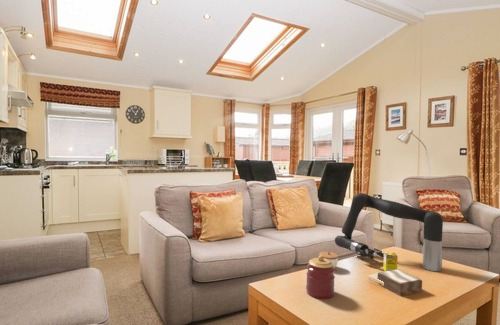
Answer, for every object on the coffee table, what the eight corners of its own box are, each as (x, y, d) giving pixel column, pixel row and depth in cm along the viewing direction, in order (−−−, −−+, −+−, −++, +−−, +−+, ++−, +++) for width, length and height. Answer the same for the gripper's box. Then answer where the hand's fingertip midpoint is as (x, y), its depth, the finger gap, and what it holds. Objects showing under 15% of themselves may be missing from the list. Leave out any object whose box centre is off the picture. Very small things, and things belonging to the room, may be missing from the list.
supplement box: (397, 275, 164) (397, 255, 163) (385, 274, 165) (386, 254, 165) (394, 271, 169) (394, 252, 169) (382, 270, 171) (383, 251, 170)
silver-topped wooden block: (397, 280, 157) (398, 268, 157) (421, 291, 144) (422, 279, 144) (377, 283, 152) (377, 272, 152) (400, 296, 139) (400, 283, 139)
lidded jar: (323, 263, 180) (323, 247, 180) (340, 267, 174) (341, 251, 173) (315, 268, 171) (316, 252, 171) (334, 272, 165) (334, 256, 165)
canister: (300, 288, 144) (301, 252, 144) (322, 284, 149) (323, 249, 149) (316, 301, 132) (318, 262, 132) (340, 296, 137) (341, 258, 137)
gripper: (350, 243, 187) (369, 251, 172) (368, 241, 192) (388, 249, 177) (350, 255, 187) (369, 264, 172) (368, 253, 193) (388, 261, 177)
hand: (378, 256), depth 175 cm, fingers open, 8 cm apart
